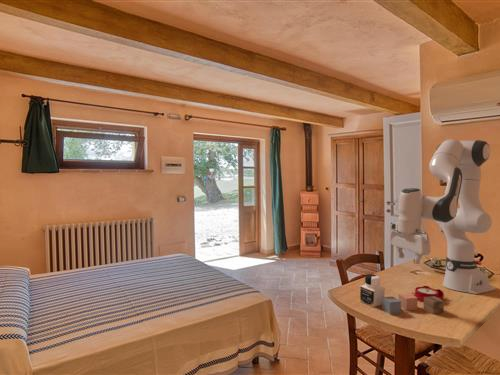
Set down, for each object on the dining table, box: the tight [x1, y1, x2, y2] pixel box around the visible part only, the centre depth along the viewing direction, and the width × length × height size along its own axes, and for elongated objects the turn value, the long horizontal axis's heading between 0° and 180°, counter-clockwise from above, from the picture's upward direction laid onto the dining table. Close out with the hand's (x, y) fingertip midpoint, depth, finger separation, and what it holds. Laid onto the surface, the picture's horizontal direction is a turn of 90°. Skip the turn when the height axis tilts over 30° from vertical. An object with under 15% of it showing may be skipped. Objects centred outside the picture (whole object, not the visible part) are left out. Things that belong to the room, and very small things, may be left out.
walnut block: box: [423, 296, 445, 315], centre depth 129 cm, size 5×5×5 cm
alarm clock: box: [411, 285, 445, 303], centre depth 143 cm, size 10×6×15 cm
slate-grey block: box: [381, 296, 402, 315], centre depth 129 cm, size 5×5×5 cm
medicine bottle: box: [359, 273, 386, 308], centre depth 137 cm, size 7×7×12 cm
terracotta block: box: [398, 292, 418, 311], centre depth 133 cm, size 5×5×5 cm
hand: (408, 260), depth 132 cm, fingers open, 8 cm apart
